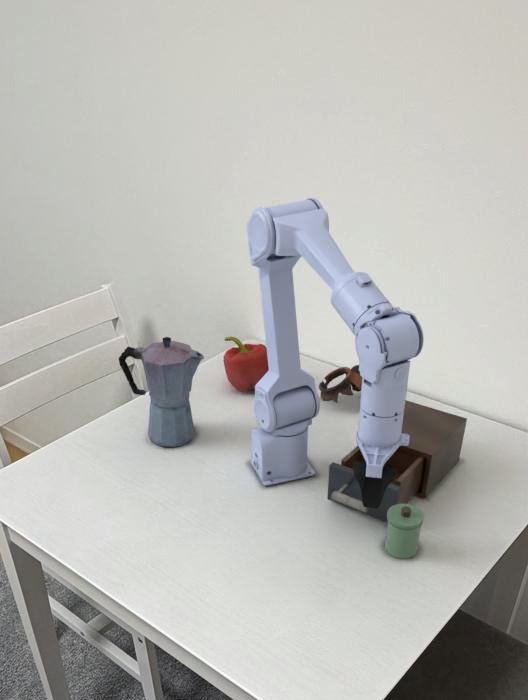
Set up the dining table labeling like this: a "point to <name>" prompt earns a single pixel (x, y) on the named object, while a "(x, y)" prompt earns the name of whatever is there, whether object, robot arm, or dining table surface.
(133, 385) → the moka pot
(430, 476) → the cabinet
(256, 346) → the vegetable
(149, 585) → the dining table surface
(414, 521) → the pot
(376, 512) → the drawer
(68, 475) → the dining table surface
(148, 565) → the dining table surface
